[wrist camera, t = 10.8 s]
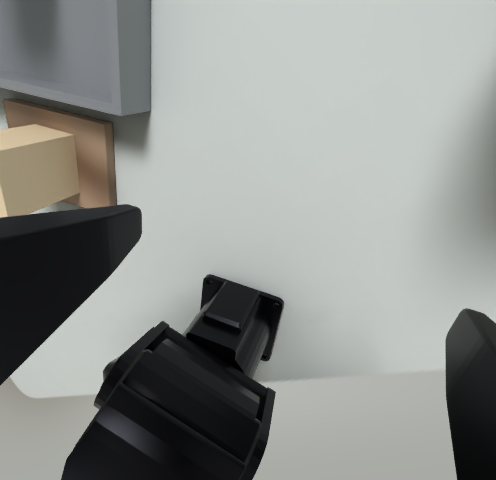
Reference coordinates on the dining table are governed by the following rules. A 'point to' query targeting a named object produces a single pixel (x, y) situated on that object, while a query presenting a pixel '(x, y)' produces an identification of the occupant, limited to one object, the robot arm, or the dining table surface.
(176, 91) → the dining table surface
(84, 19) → the bin
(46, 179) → the carton tan
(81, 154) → the board
